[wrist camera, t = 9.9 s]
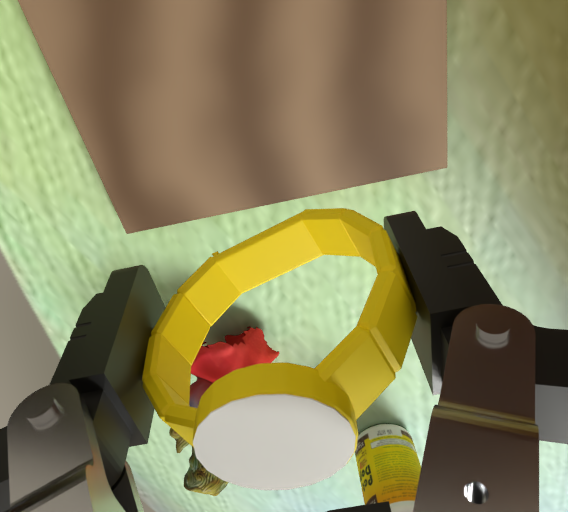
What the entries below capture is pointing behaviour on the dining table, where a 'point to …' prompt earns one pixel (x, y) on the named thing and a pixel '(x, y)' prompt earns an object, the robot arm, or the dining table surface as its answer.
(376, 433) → the supplement bottle
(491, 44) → the dining table surface
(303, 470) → the watch
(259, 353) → the figurine
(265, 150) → the walnut board
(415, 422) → the dining table surface
